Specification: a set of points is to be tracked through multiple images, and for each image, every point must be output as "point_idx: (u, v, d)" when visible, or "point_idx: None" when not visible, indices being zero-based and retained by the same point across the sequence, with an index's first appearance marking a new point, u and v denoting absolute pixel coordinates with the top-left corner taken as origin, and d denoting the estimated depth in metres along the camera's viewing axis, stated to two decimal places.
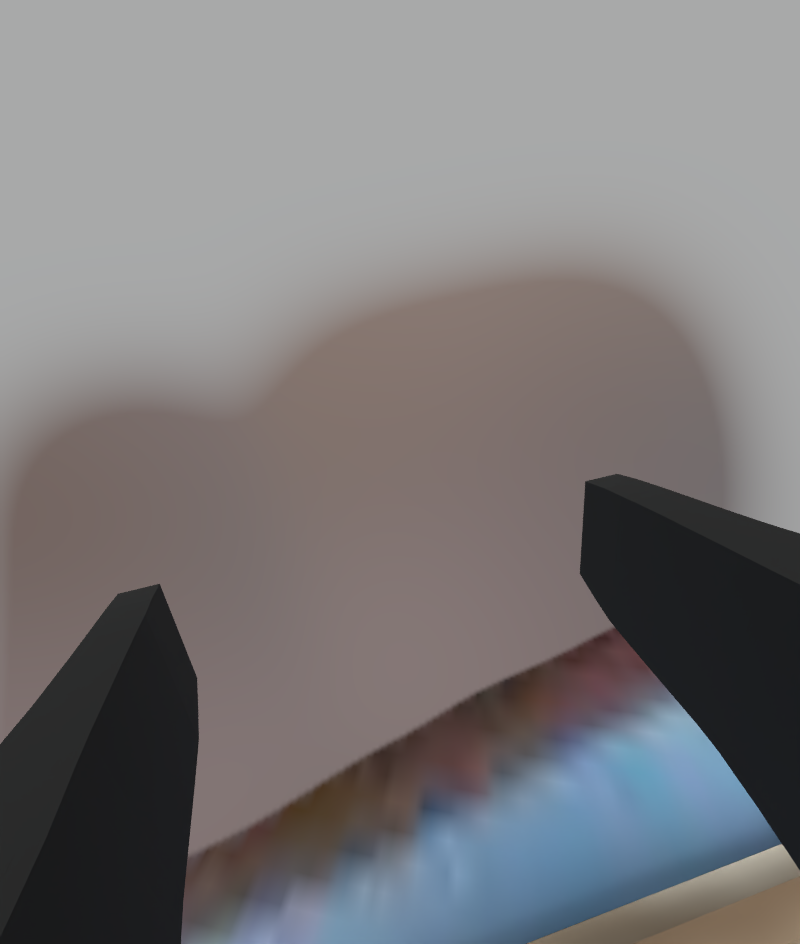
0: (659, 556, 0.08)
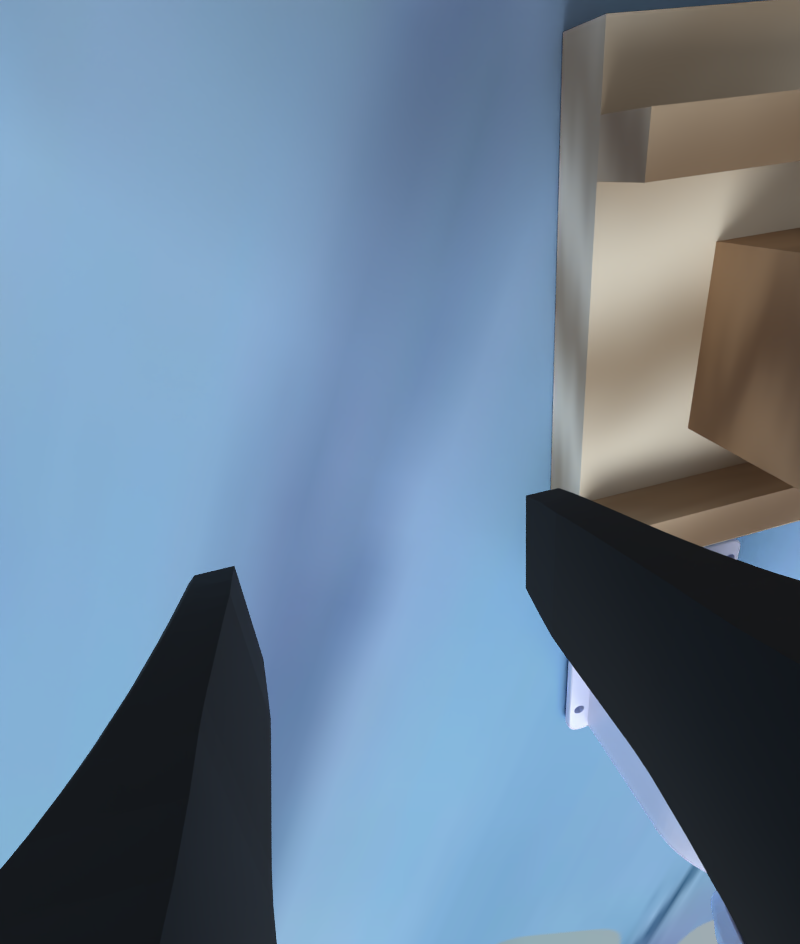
0: (591, 575, 0.08)
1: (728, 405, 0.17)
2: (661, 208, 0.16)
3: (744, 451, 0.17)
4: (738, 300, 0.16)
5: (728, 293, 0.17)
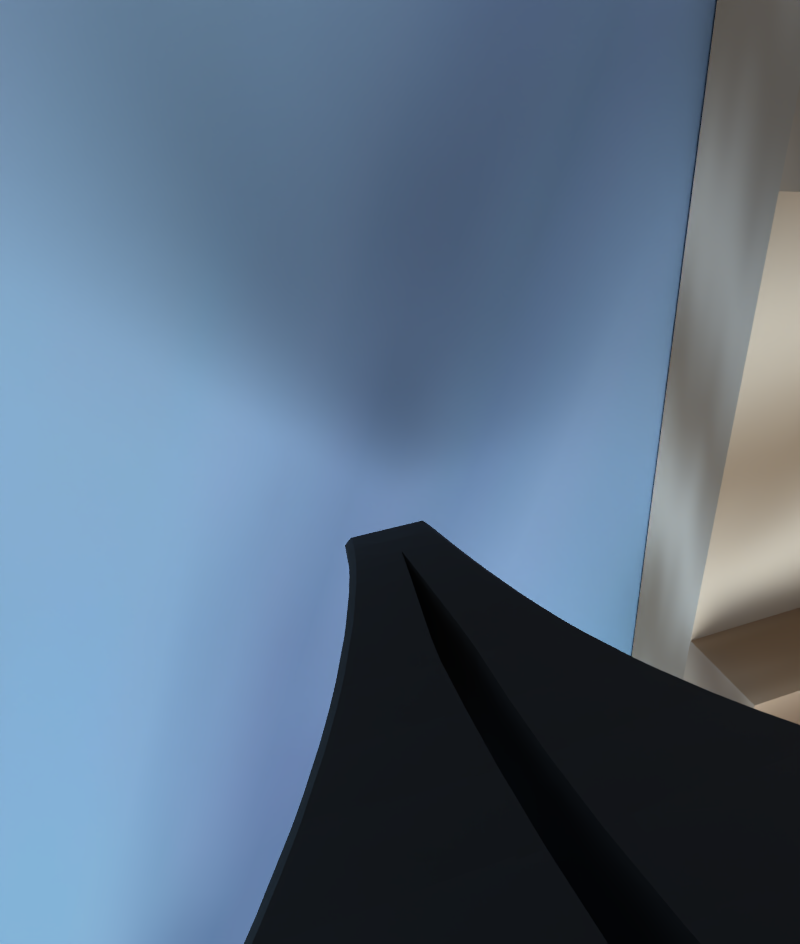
0: (428, 620, 0.08)
1: None
2: None
3: None
4: None
5: None
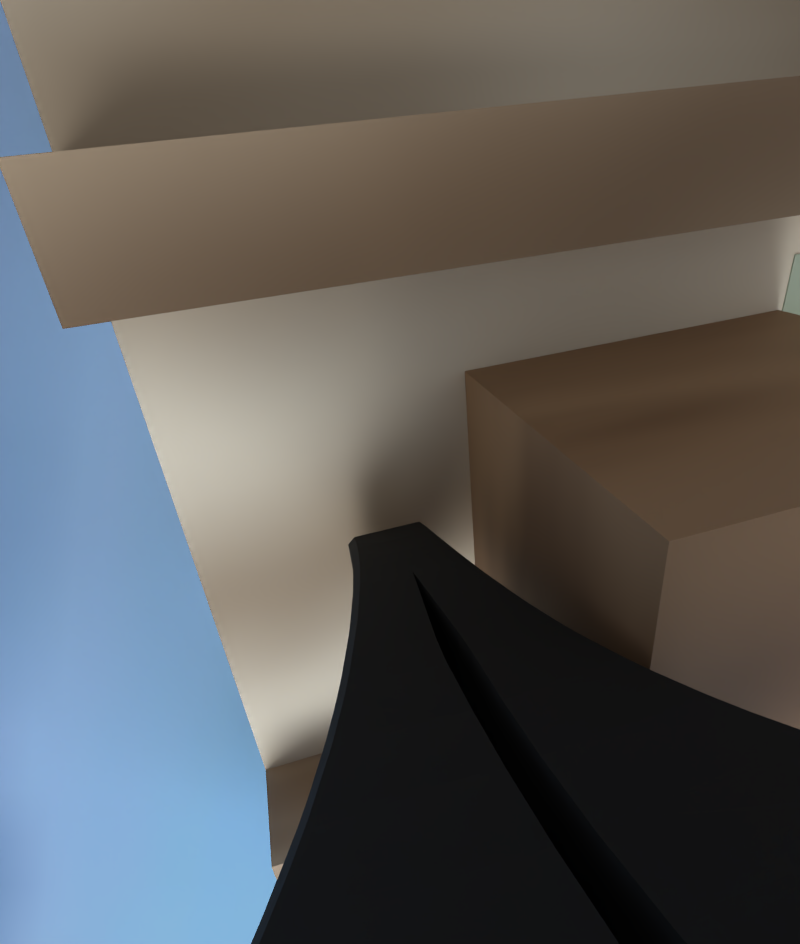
0: None
1: None
2: (273, 333, 0.08)
3: None
4: (495, 483, 0.09)
5: (485, 465, 0.09)
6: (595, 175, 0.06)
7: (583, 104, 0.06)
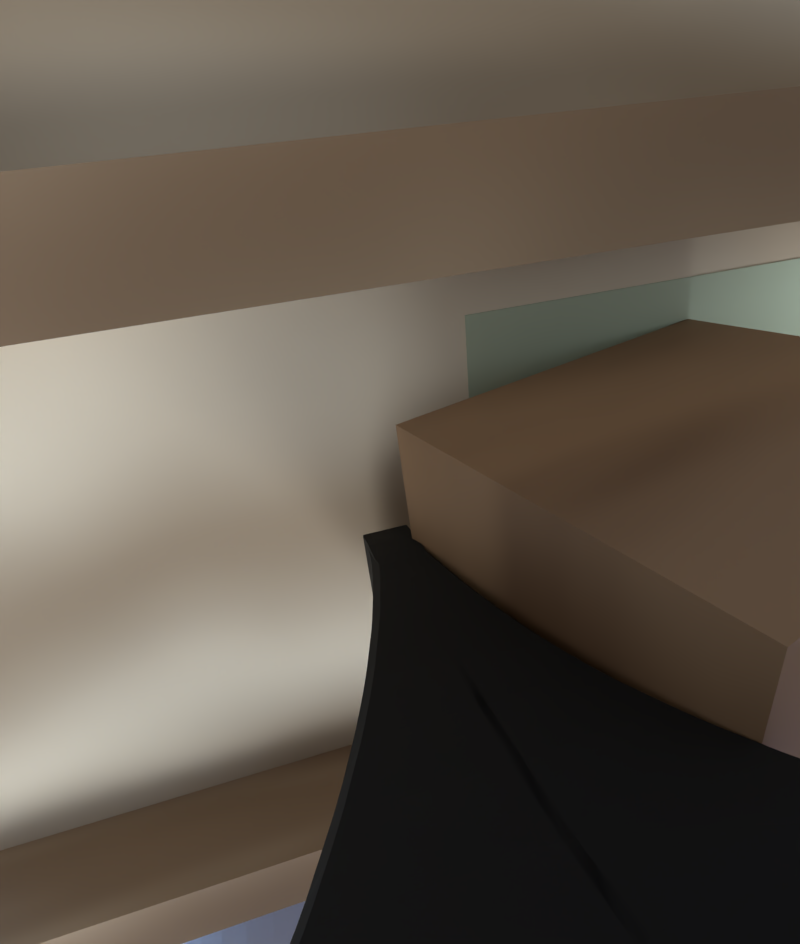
0: None
1: None
2: None
3: None
4: (457, 555, 0.07)
5: (438, 533, 0.08)
6: (21, 261, 0.05)
7: None
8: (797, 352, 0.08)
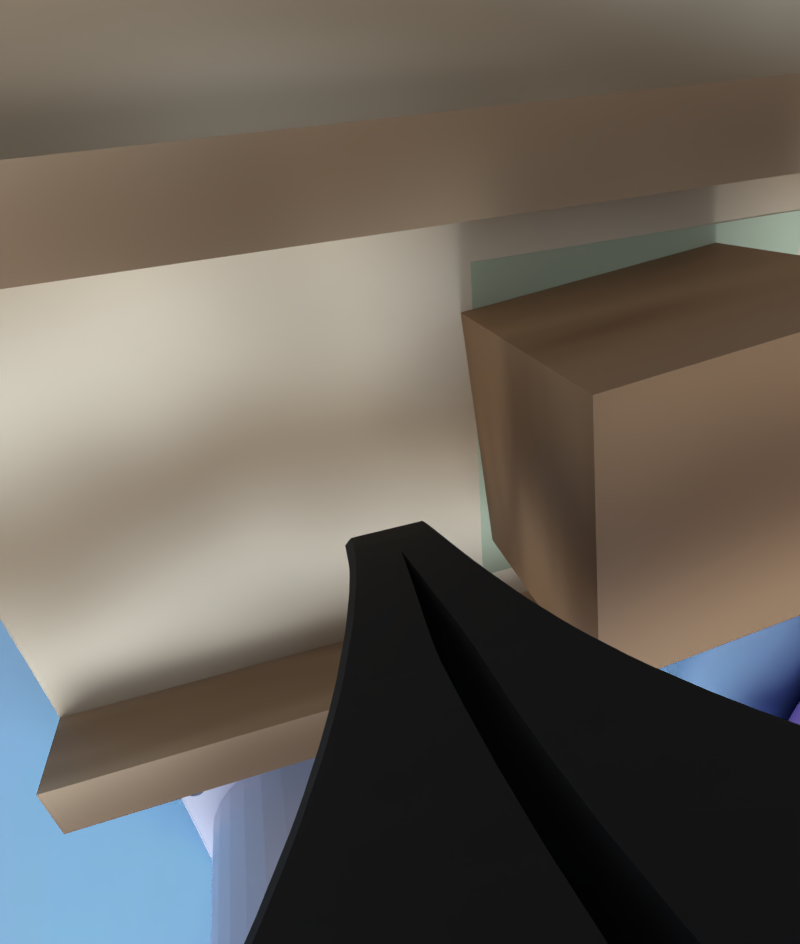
0: (428, 619, 0.08)
1: (513, 528, 0.13)
2: None
3: (534, 593, 0.13)
4: (491, 398, 0.12)
5: (482, 385, 0.12)
6: (165, 205, 0.08)
7: (135, 150, 0.08)
8: (769, 264, 0.11)
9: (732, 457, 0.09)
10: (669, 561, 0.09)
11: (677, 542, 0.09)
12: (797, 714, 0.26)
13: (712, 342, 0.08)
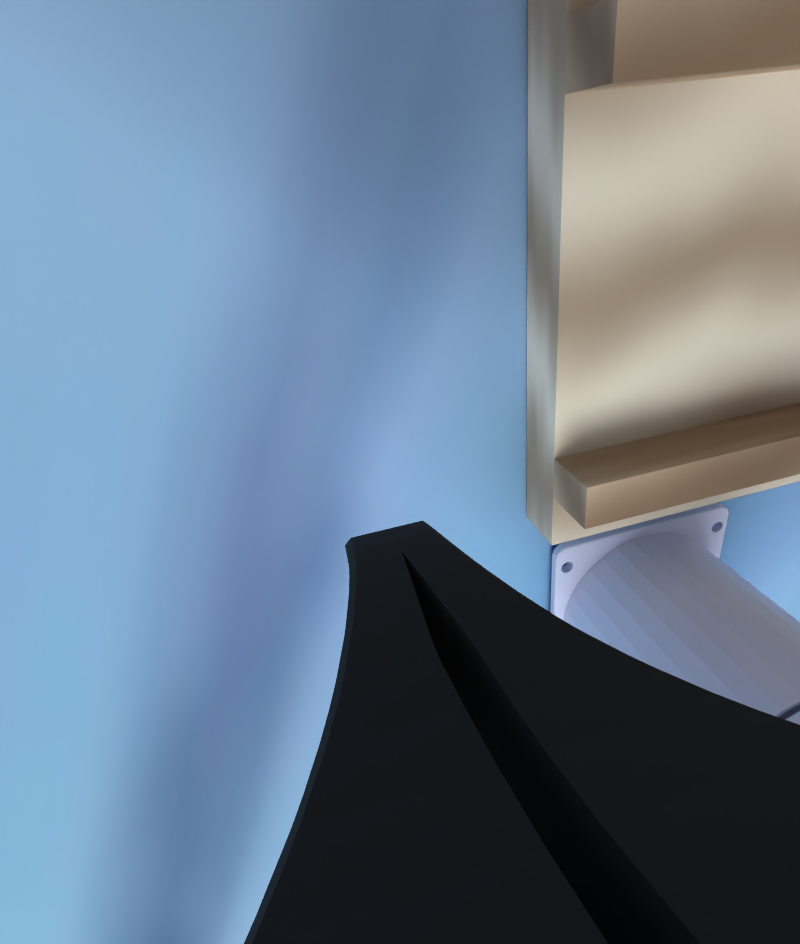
0: (429, 620, 0.08)
1: None
2: (636, 127, 0.15)
3: None
4: None
5: None
6: None
7: None
8: None
9: None
10: None
11: None
12: None
13: None
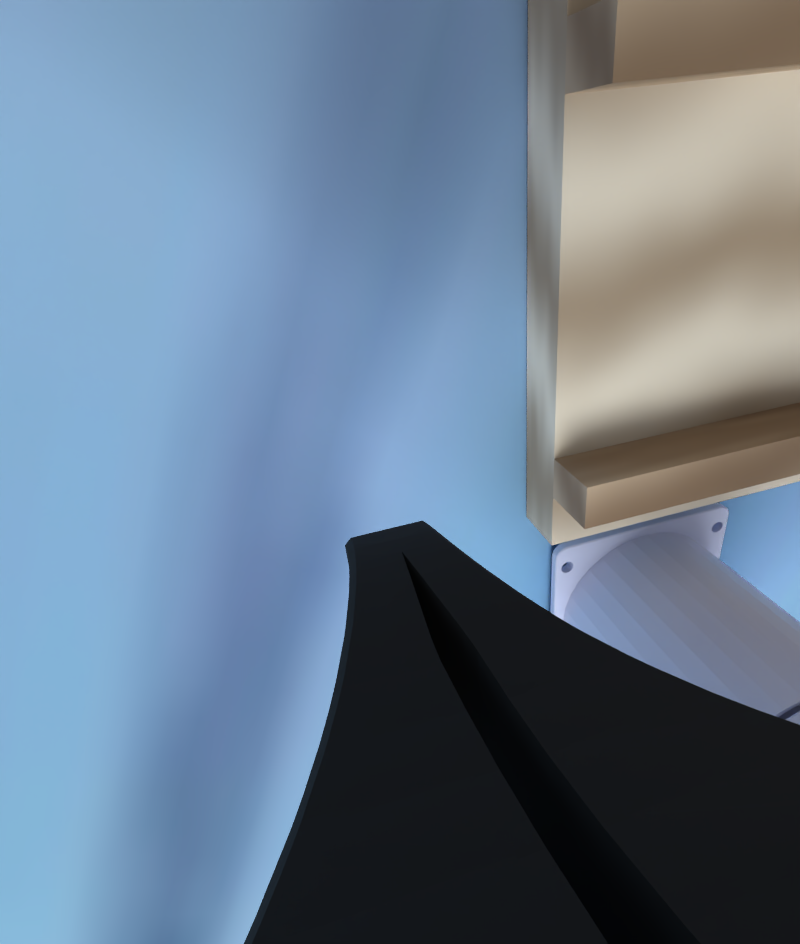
0: (428, 620, 0.08)
1: None
2: (636, 127, 0.15)
3: None
4: None
5: None
6: None
7: None
8: None
9: None
10: None
11: None
12: None
13: None
